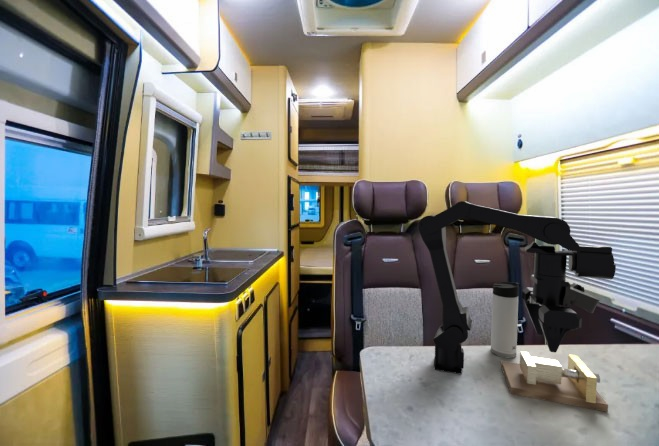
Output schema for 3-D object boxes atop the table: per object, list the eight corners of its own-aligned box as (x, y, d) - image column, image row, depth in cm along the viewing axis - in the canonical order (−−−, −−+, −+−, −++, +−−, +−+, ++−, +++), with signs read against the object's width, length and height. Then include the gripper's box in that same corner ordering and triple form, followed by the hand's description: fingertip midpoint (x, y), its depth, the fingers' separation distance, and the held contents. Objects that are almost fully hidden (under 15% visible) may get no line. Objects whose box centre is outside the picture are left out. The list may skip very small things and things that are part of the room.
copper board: (511, 393, 67) (511, 387, 67) (501, 366, 78) (501, 360, 78) (607, 411, 61) (608, 404, 61) (582, 379, 73) (582, 373, 72)
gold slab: (585, 401, 62) (587, 376, 62) (567, 376, 71) (568, 354, 71) (595, 403, 62) (596, 378, 61) (575, 377, 71) (576, 355, 70)
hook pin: (527, 383, 67) (527, 365, 67) (519, 367, 73) (520, 351, 73) (605, 396, 62) (606, 377, 62) (590, 378, 69) (591, 361, 68)
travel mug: (521, 359, 82) (524, 286, 81) (494, 357, 83) (497, 285, 82) (512, 348, 88) (514, 280, 87) (487, 346, 89) (489, 279, 88)
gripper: (618, 288, 56) (613, 371, 57) (576, 268, 73) (572, 331, 74) (546, 282, 60) (542, 360, 61) (522, 264, 77) (520, 325, 78)
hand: (545, 342), depth 68 cm, fingers open, 9 cm apart
